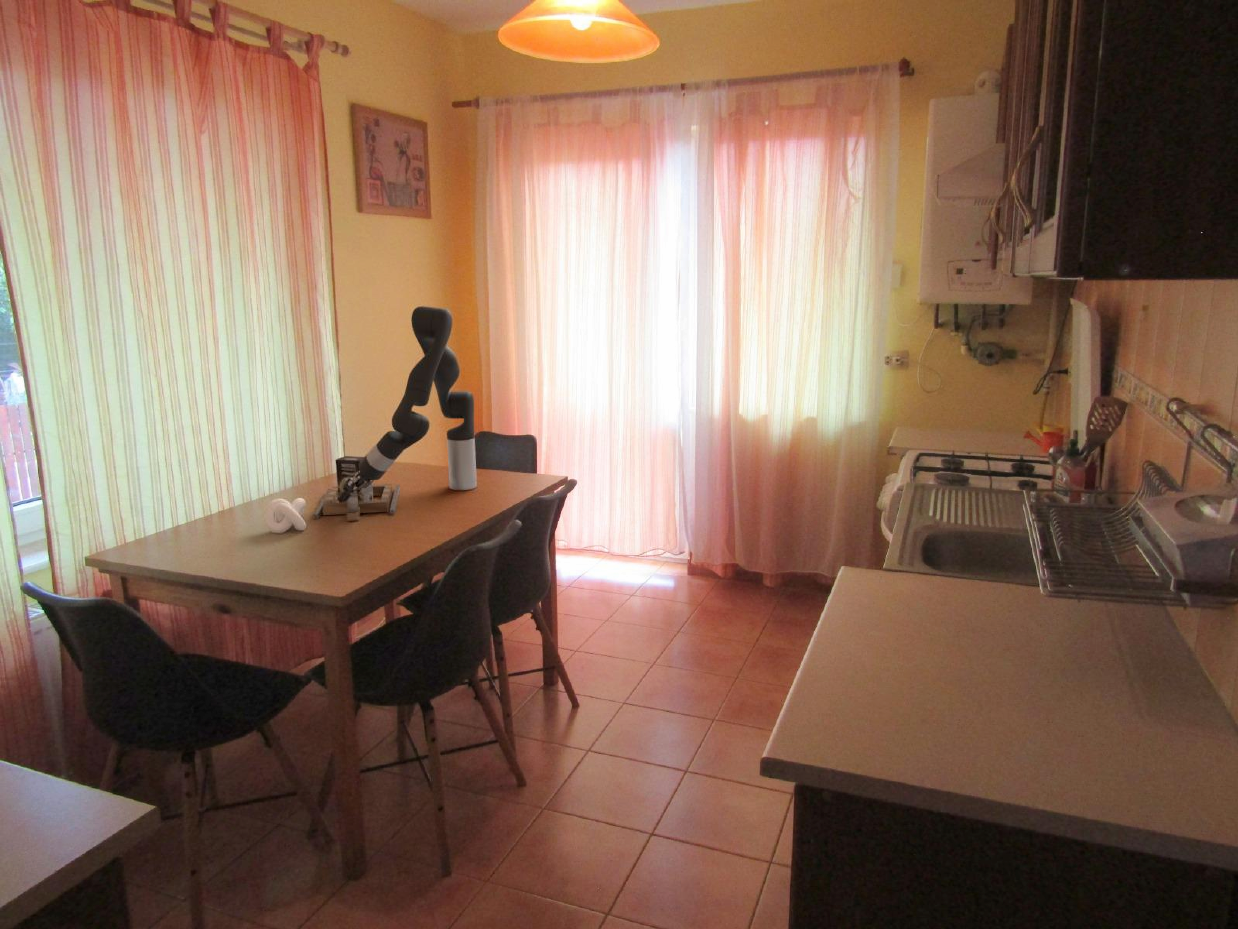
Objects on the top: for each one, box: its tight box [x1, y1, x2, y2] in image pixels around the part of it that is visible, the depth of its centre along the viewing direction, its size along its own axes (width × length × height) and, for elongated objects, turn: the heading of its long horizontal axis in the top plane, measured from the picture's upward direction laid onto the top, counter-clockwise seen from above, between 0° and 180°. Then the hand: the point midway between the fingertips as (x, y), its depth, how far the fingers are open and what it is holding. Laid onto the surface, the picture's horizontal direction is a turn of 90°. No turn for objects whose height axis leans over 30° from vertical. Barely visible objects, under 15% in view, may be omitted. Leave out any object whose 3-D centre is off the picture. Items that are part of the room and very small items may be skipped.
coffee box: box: [335, 455, 374, 502], centre depth 270 cm, size 9×6×16 cm
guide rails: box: [313, 484, 401, 520], centre depth 277 cm, size 32×23×2 cm
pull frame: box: [322, 478, 393, 522], centre depth 271 cm, size 32×19×12 cm, turn 11°
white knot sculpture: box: [263, 497, 307, 534], centre depth 248 cm, size 11×12×9 cm
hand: (346, 497), depth 259 cm, fingers closed on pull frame, 3 cm apart
